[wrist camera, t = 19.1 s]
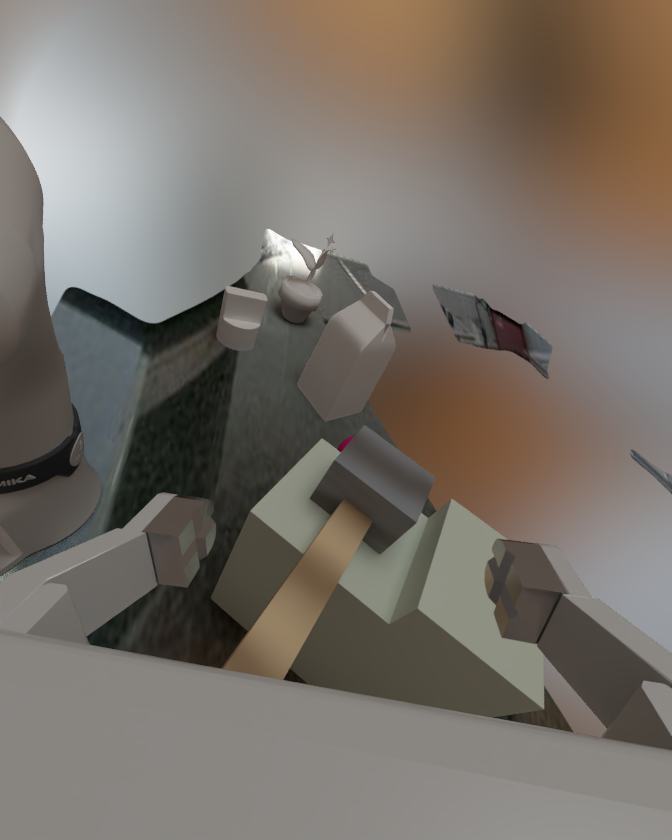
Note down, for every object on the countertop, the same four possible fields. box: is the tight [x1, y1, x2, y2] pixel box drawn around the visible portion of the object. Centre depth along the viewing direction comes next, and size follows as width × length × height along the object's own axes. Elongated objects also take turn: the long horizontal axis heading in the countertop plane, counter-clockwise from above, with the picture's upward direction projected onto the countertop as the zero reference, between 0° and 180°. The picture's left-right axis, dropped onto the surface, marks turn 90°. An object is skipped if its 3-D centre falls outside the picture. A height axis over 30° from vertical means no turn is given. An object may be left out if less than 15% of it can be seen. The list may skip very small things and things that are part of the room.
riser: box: [211, 439, 544, 717], centre depth 36 cm, size 12×24×26 cm, turn 60°
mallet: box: [221, 425, 435, 680], centre depth 25 cm, size 21×8×6 cm, turn 150°
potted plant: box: [279, 234, 336, 324], centre depth 90 cm, size 13×12×25 cm
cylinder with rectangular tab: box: [216, 286, 267, 351], centre depth 76 cm, size 9×9×12 cm
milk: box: [296, 291, 396, 422], centre depth 70 cm, size 12×12×26 cm
